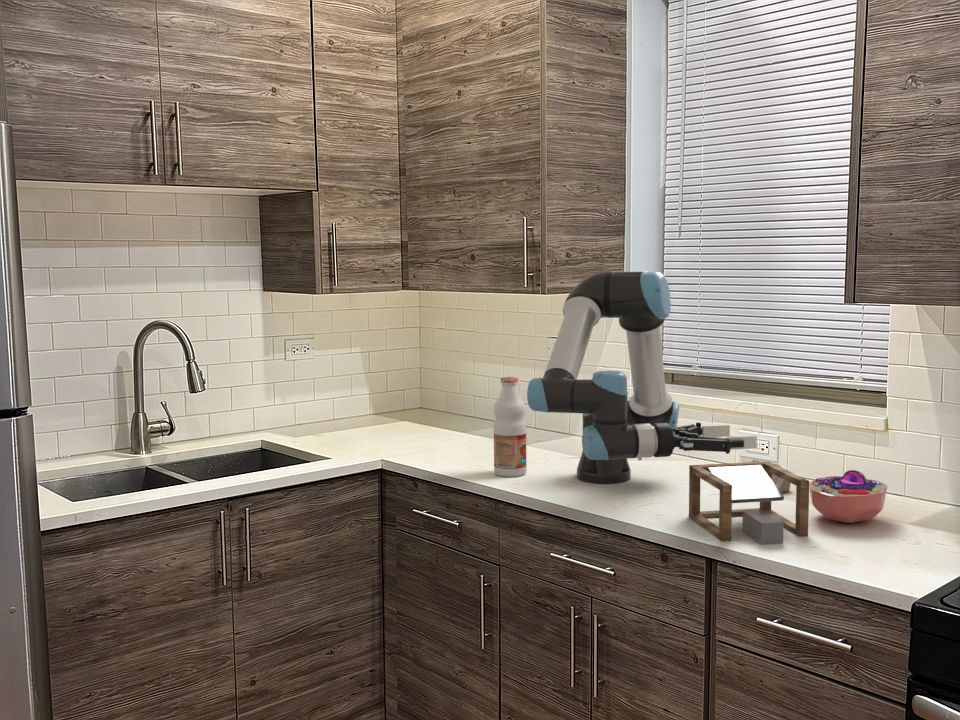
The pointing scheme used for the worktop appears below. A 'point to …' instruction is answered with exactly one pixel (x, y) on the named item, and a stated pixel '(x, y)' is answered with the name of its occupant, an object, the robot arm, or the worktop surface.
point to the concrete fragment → (779, 481)
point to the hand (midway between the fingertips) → (742, 436)
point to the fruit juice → (509, 431)
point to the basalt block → (762, 527)
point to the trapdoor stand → (726, 509)
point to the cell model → (848, 497)
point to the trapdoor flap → (748, 483)
